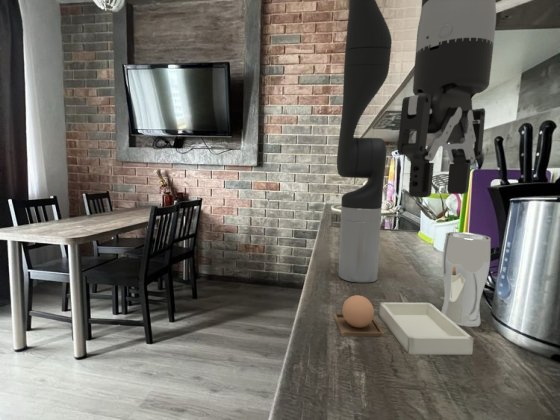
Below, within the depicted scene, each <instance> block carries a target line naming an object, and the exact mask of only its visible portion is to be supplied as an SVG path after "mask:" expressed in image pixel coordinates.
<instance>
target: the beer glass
mask: <svg viewBox="0 0 560 420" xmlns="http://www.w3.org/2000/svg"><path fill="white" fill-rule="evenodd" d="M491 239H492V238H491V237H490V236H487V235H484V234H479V233H473V232H464V231H463V232H462V231H451V232H446V233H445V239H444V244H443V251H442V263H441V267H442V279H443V285H444V286H443V287H444V288H443V289H444V297H443V298H444V299H443V304H442V307H441V310H440V311H441V312H442V313H443V314H444V315H446V316H447V317H448V318H449V319H450V320H452V321H453V322H454V323H455V324H457V325H458V326H462V327H468V328H472V327H478V328H479V326H481V323H482V321H481V314H480V303H481V298H482V295H483V292H484V289H485V285H486V282H487V279H488V276H489V270H490V266H491V265H490V264H491V241H492V240H491Z"/></svg>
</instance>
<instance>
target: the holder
mask: <svg viewBox="0 0 560 420" xmlns="http://www.w3.org/2000/svg"><path fill="white" fill-rule="evenodd" d="M332 315H333V316H332V317H333V320H334V322H335V324H336V326H337V328H338V331H339V334H340V336H341V337H342V338H344V337H345V338H346V337H350V338H351V337H353V338H354V337H360V338H361V337H366V338H376V337H379V338H382V337H385V335H386V333H385V332H384V331H383V329H382V327H381V326H380V324H378V322H377V321H376V319H375V317H373V319H372V321H371V323H370V324H368V325H367V326H365V327H362V328H357V327H353V326H351V325H350V324H349V323H347V321H346V320H345V319H344V316H343V313H333V314H332Z"/></svg>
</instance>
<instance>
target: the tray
mask: <svg viewBox="0 0 560 420" xmlns="http://www.w3.org/2000/svg"><path fill="white" fill-rule="evenodd" d="M378 309H379V310H378V315H379V317H380V319H381V320H382V321H383V323H384V324H385V325H386V327H387V328H388V329H389V331H390V332H391V333H392V334H393V336H394V337H395V339H396V340H397V341H398V342H399V343H400V345H401V346H402V348H403V349H404V350H405V351H406V353H407V354H408V355H462V356H463V355H467V356H468V355H472V356H473V351H474V340H475V338H474V337H472V336H471V335H470V334H469V333H467V332H466V331H465V329H462V328H461V327H460V325H457V324H455V323H454V322H453V321H452V320H450V319H449V318H448V317H447V316H446V315H444V314H443V313H442V312H441V310H440V309H438V308H437V307H436V306H435V305H434V304H432V303H431V302H384V301H383V302H379V308H378Z"/></svg>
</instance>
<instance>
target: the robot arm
mask: <svg viewBox="0 0 560 420" xmlns="http://www.w3.org/2000/svg"><path fill="white" fill-rule="evenodd" d="M348 1H349V3H348V4H349V5H348V14H347V15H348V18H347V26H346V29H347V31H346V39H345V51H344V63H343V65H344V67H343V89H342V90H343V95H342V108H341V109H342V110H341V111H342V112H341V118H340V119H341V120H340V121H341V122H340V128H339V137H338V143H337V144H338V146H337V153H336V154H337V155H336V169H337V173H338V175H339V176H340V177H341V178H346V179H348V178H349V179H351V178H352V179H353V178H354V179H367V182H366V183H365V184H364V185H363V186H361V187H359V188H357V189H356V190H353V191H350V192H349V191H348V192H346V193H343V195H342V196H341V204H340V205H341V207H340V209H341V210H340V231H339V233H340V234H339V251H338V252H339V253H338V255H339V257H338V274H337V275H338V277H339V278H340V279H342V280H344V281H347V282H352V283H357V284H358V283H360V284H368V283H374V282H376V281H377V280H378V270H379V255H380V239H381V237H380V236H381V220H382V203H383V194H384V182H385V181H384V180H385V172H386V166H387V165H386V164H387V145H386V141H385V140H384V139H383V138H379V137H355V133H356V129H357V126H358V124H359V121H360V119H361V117H362V115H363V113H364V112H365V110H366V109H367V107H369V104H370V103H371V102H372V100H373V99H374V98H375V96H376V95H377V94H378V92H379V91H380V89H381V87H383V85H384V83H385V81H386V80H387V78H388V75H389V71H390V62H391V54H392V42H393V41H392V36H391V32H390V29H389V26H388V24H387V22H386V19H385V18H384V15H383V13H382V11H381V10H380V7H379V5H378V3H377V1H376V0H348ZM496 1H497V0H421V9H420V17H419V21H418V24H417V25H418V26H417V33H416V42H415V43H416V45H415V58H414V69H413V81H412V82H413V85H412V92H413V95H411V96H407V97H404V98H403V99H402V104H401V111H400V121H399V122H400V123H399V129H398V131H399V132H398V140H397V154H398V155H399V156H405V157H406V159H407V161H408V162H409V163H410V167H409V168H410V169H409V180H408V181H409V182H408V194H409V196H410V197H413V198H429V197H430V196H431V195H432V191H433V189H432V188H433V178H434V176H433V175H434V165H435V163H434V162H433V160H434V158H435V157H436V155H437V152H438V151H439V150H440V148H441V147H442V149H444V150H446V151H447V153H448V158H449V161H450V163H449V164H448V165H449V167H448V176H447V188H446V190H447V192H448V193H449V194H455V195H456V194H458V195H465V194H467V193H468V192H469V186H470V185H469V184H470V175H471V166H472V164H473V163H474V162H475V160H476V159H480V158H481V157H482V156H483V145H484V143H483V142H484V132H485V122H486V121H485V120H486V110H485V109H486V108H483V107H482V108H473V101H472V99H473V97H475V96H476V94H481V93H483V92H484V91H486V90H487V89H488V88H489V86H490V80H491V71H492V61H493V53H494V44H495V42H494V41H495V33H496V25H497V4H496ZM412 132H413V133H412ZM411 133H412V136H411V140H412V142H410V134H411Z"/></svg>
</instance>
